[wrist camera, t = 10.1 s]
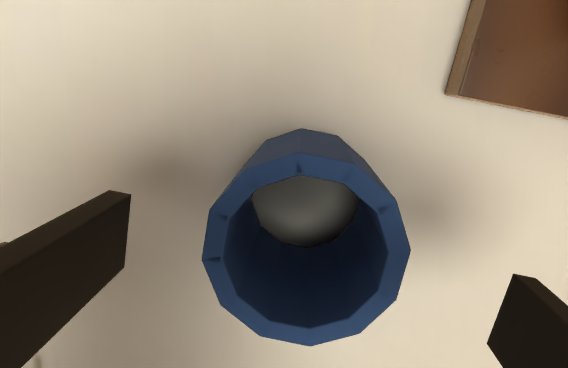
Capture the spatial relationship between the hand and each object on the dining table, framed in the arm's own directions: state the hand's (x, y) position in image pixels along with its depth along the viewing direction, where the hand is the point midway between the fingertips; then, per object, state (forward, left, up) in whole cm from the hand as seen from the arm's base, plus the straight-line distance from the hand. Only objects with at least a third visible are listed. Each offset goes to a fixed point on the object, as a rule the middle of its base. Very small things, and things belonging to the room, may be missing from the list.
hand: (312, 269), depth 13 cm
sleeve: (0, 0, -9) cm, 9 cm away
